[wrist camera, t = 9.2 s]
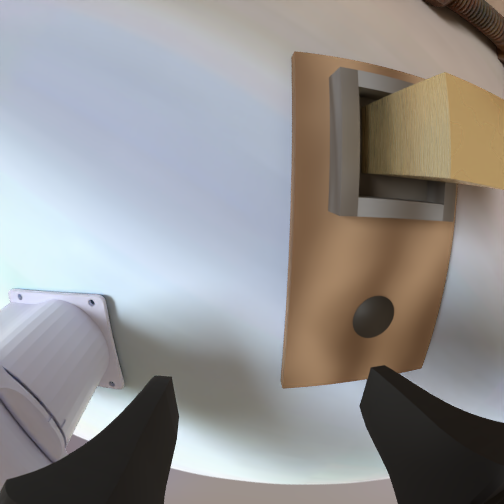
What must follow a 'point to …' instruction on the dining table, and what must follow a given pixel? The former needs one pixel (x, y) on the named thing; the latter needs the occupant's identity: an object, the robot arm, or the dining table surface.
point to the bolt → (479, 19)
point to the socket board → (357, 235)
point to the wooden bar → (436, 133)
